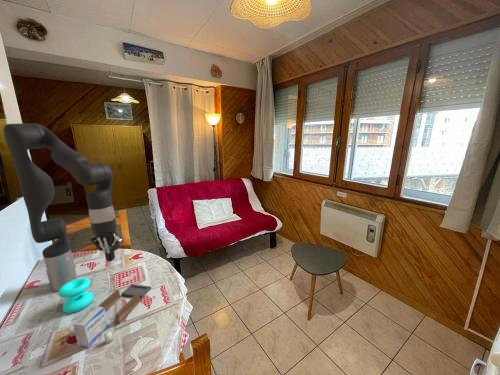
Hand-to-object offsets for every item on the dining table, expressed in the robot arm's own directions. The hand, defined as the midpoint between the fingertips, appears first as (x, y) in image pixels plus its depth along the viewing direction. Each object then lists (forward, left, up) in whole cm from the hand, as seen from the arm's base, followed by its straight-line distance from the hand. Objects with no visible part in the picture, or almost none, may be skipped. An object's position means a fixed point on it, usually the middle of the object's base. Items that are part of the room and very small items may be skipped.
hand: (110, 260), depth 77 cm
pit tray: (0, +9, -22) cm, 24 cm away
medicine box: (+1, -12, -22) cm, 25 cm away
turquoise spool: (-19, -1, -22) cm, 29 cm away
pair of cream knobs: (0, -13, -22) cm, 26 cm away
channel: (0, -1, -22) cm, 22 cm away
